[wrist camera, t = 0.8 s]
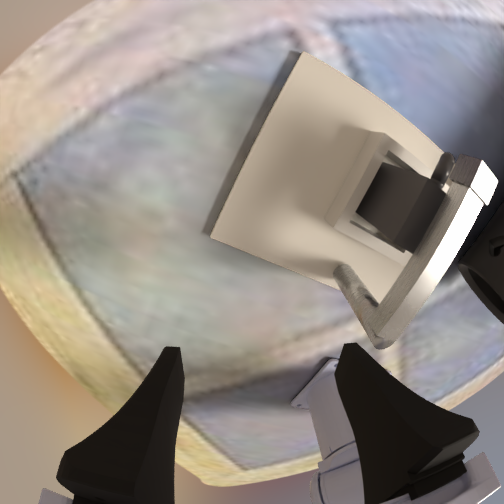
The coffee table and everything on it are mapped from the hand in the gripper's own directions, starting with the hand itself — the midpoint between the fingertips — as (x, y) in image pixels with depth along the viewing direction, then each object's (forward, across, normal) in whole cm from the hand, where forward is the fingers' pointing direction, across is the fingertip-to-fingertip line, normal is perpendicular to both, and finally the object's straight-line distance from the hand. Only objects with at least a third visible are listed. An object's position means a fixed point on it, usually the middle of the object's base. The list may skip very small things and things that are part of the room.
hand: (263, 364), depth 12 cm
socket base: (+10, -8, -5) cm, 14 cm away
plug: (+10, -10, -7) cm, 15 cm away
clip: (+9, -9, -4) cm, 14 cm away
